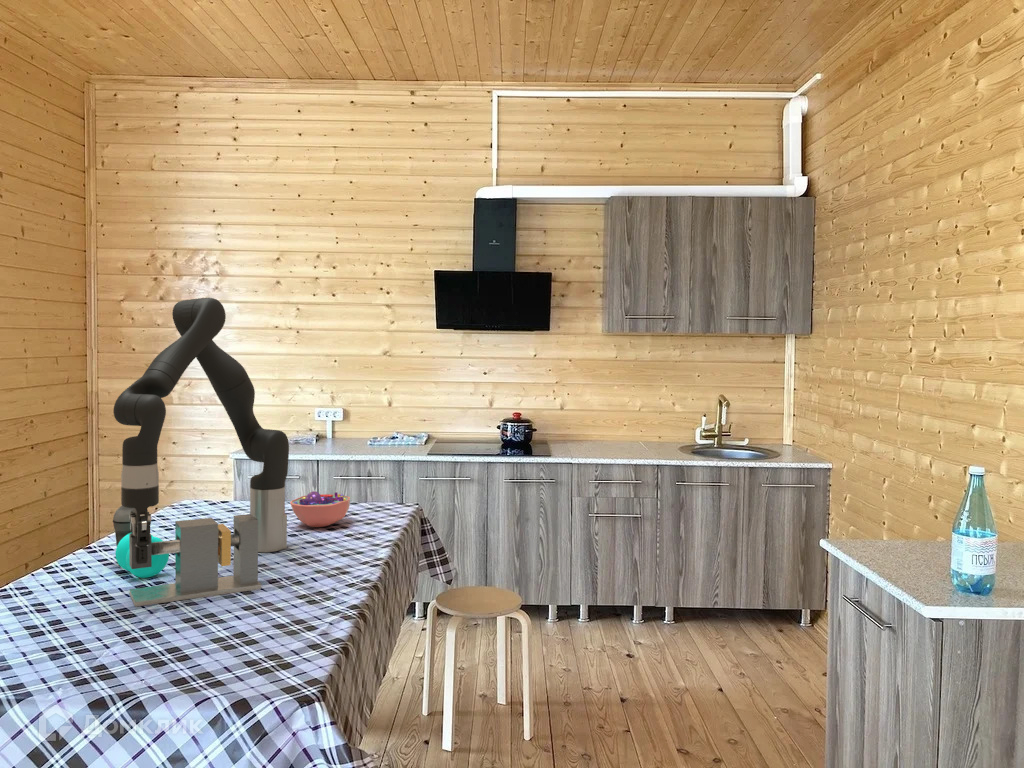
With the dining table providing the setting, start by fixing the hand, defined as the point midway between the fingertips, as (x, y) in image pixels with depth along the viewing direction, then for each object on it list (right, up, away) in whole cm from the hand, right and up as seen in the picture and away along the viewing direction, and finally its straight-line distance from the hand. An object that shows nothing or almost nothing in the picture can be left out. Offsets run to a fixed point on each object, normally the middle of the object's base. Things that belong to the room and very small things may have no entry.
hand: (140, 560), depth 178 cm
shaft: (+9, -1, +6) cm, 11 cm away
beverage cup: (-15, -7, +26) cm, 31 cm away
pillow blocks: (+10, -9, +7) cm, 15 cm away
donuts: (-8, -8, +19) cm, 22 cm away
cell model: (+23, -5, +73) cm, 77 cm away
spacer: (+15, -2, +9) cm, 18 cm away
